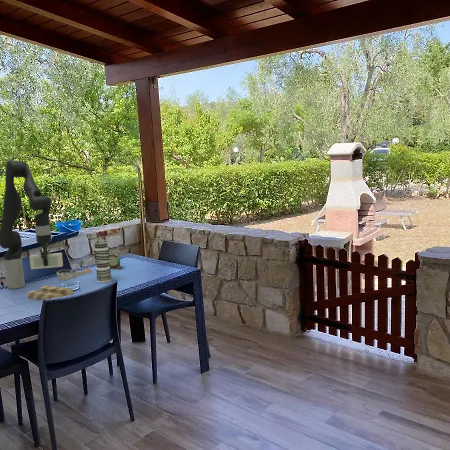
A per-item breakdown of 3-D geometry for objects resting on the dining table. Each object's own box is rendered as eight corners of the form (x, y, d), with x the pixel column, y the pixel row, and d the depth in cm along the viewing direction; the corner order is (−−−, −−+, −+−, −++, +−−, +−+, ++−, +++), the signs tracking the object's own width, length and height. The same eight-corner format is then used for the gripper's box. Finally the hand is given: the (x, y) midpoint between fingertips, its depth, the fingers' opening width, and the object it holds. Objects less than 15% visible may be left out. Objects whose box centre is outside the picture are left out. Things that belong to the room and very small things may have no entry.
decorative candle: (95, 283, 268) (91, 242, 264) (97, 279, 277) (93, 239, 273) (111, 281, 270) (107, 240, 266) (112, 277, 279) (109, 237, 275)
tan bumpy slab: (27, 298, 246) (27, 292, 246) (46, 290, 258) (45, 285, 257) (55, 301, 238) (55, 295, 237) (73, 293, 250) (72, 288, 249)
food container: (126, 267, 302) (124, 253, 300) (119, 270, 297) (117, 255, 295) (112, 266, 308) (111, 251, 307) (106, 268, 303) (104, 253, 302)
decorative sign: (63, 278, 276) (46, 273, 288) (63, 282, 276) (46, 277, 289) (94, 269, 292) (76, 266, 305) (94, 273, 293) (77, 269, 305)
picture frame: (30, 269, 242) (29, 256, 241) (32, 267, 246) (30, 255, 244) (61, 266, 245) (60, 254, 244) (63, 265, 248) (61, 252, 247)
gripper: (48, 235, 236) (51, 267, 239) (53, 230, 250) (56, 261, 252) (33, 236, 235) (36, 268, 237) (38, 231, 248) (42, 262, 251)
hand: (46, 264), depth 245 cm, fingers closed on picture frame, 3 cm apart
